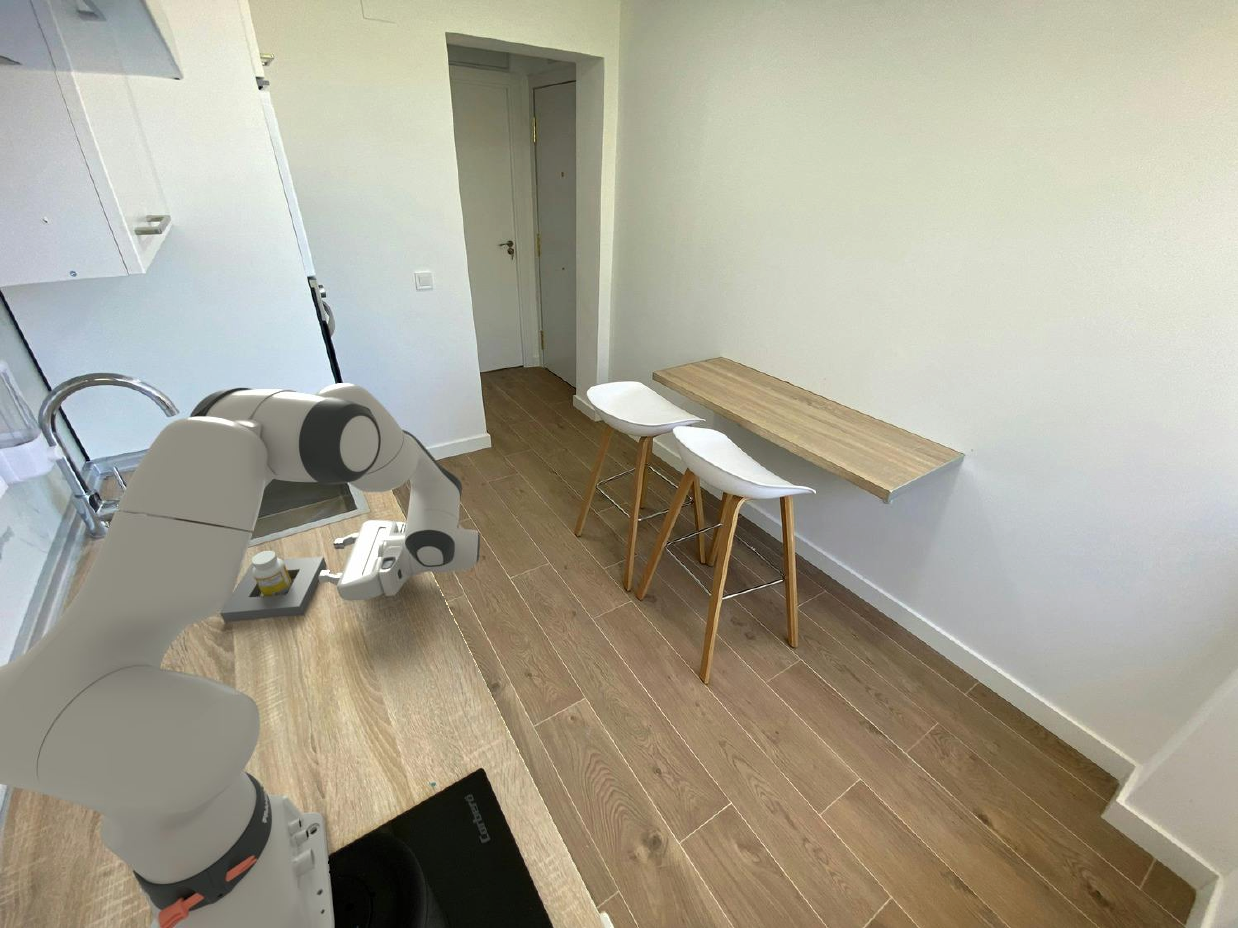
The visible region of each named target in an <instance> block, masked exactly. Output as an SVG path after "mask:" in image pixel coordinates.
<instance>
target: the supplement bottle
mask: <svg viewBox="0 0 1238 928" xmlns="http://www.w3.org/2000/svg"><path fill="white" fill-rule="evenodd" d="M251 564H253V566H254V568H253V576H254V578H255V580H256V582H257V584H258V586H259V588H260V590H261V593H262V596H273V595H285V594H287V593H288V591H289V589H290V587H291V586H292V584H293V581H292V579H290V576H289V574H288V572H287V569H286V567H285V564H284V562H283V561H282V559H281V558H279V557H278V556H277V554H276V552H275V551H274V550H264V551H261V552H258V553H257V554H255V555H254V556H253V557H252V558H251Z"/></svg>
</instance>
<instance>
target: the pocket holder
mask: <svg viewBox="0 0 1238 928" xmlns="http://www.w3.org/2000/svg"><path fill="white" fill-rule="evenodd" d="M281 560H282V561H283V562H284V564H285V567H286V569H287V572H288V574H289V576H290V579H291V580H292V579H294V580H293V581H292V583H293V584H292V586H291V587H290V589H289V591H288V593H287V594H285V595H273V596H263V595H262V596H260V595H261V593H262V592H261V590H260V588H259V586H258V584H257V582H256V580H255V578H254V576H253V568H254V566H253V564H252V563H251V564H250V565H249V567H248V569H247V570H246V572H245V573H244V574H243V576H242V578H241V580H240V581H239V582H238V583H237V586H236V587H235V588H234V590H233V593H232V596H231V598H230V600H229V601H228V603H227V604H226V605H225V606H224V607H223V608H222V609H221V610H220V611H219V614H220V616H221V618H222V620H223V622H224V623H229V622H239V621H241V622H242V621H250V620H251V621H252V620H261V619H262V620H263V619H271V618H272V619H274V618H284V617H286V618H287V617H295V616H296V617H298V616H303V615H304V614H305V612H306V610H307V608H308V606H309V604H310V601H311V599H312V597H313V595H314V594H315V593H314V592H315V591H316V589H317V587H318V584H319V582H320V581H319V579H318V576H319V574H320V572H321V571H325V569H326V567H327V562H326V559H325V557H324V556H312V557H311V556H310V557H298V558H285V559H281Z"/></svg>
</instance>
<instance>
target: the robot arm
mask: <svg viewBox="0 0 1238 928" xmlns="http://www.w3.org/2000/svg"><path fill="white" fill-rule="evenodd" d="M273 480H278V481H286V482H297V483H298V482H300V483H320V484H324V485H339V484H349V485H351V486H352V487H354V488H355V489H358V490H359V491H362V492H365V493H371V494H376V493H378V494H379V493H386V492H390V491H393V490H395V489H397V488H399V487H401V486H402V485H404V484H405V483H407V482H408V481H409V482H410V489H409V493H410V496H409V503H408V509H407V517H406V518H407V519H406V523H405V522H403V521H394V520H392V519H391V520H389V519H388V520H387V519H368V520H367V521H364V522H362V524H361V527H360V529H359V532H355V533H351V534H349V535H345V537H338V538H335V539H334V541H333V546H334V549H335V550H344V549H345V548H346V547H348V546H351V545H353V546H352V548H351V551H350V552H349V555H348V558H347V560H346V562H345V565H344V567H343V570H342V571H341V572H337V573H336V574H332V573H331V570H329V569H327V570H324V571H321V572H320V574H319V576H318V579H319V582H320V583H330V584H333V585H335V586H336V590H337V593H338V595H339V598H341V599H342V600H344V601H346V602H347V601H360V600H369V599H370V600H371V599H375V598H378V597H379V596H381V595H382V594H384V596H387V597H392V596H395V595H397V593H398V592H399V591H400V589H401V588H402V587H403V585H404V584H405V582H406V581H407V580H408V579H409V578H410V576H414V575H420V574H422V573H427V572H428V573H429V572H430V573H435V574H437V573H438V574H439V573H448V572H449V573H450V572H455V571H456V572H457V571H462V570H467V569H471V568H473V567H475V566H477V563H479V559H480V551H481V550H480V549H481V536H480V533H479V531H478V530H475V529H465V528H464V527H462V525H461V524H460V523H459V522H460V521H459V519H460V506H461V498H462V495H463V494H462V493H463V485H462V483H461V481H460V480H459V478H457V476H456V475H454V474H453V473H452V472H451V471H449V470H447V469H446V468H444V467H443V466H442V465H440V463H439V462H438V461H437V459H436V458H435V457H434V456H433V455H432V454H431V453H430V451H429V450H428V449H427V448H426V447H425V446H424V444H423V443H422V442H421V441H420V440H419V439H418V438H417V437H416V436H415V435H414V434H412V432H409V431H408V430H405V429H402V428H401V426H400V425H399V424H398V422H397V421H396V419H395V418H394V417H393V416H392V414H391V413H390V411H389V410H387V408H386V407H385V406H384V405H383V404H382V403H381V402H380V401H379V399H377V398H376V397H375V396H374V395H373V394H372V393H370V391H369V390H367V389H366V388H364V387H362V386H360V385H358V384H355V383H350V382H349V383H348V382H341V383H339V382H338V383H334V384H331V385H327V386H326V387H324V388H321V389H320V390H318V391H317V392H316V393H314V394H312V393H303V392H298V391H296V390H291V389H280V388H279V389H277V388H276V389H274V388H273V389H271V388H270V389H269V388H261V389H259V388H257V389H253V388H251V387H234V388H227V389H222V390H218V391H215V392H213V393H211V394H208V395H207V396H206V397H204V398H202V399H201V401H199V403H198V404H197V405H196V406H195V407H194V409H193V410H192V411H191V413H190V415H189V416H188V417H183V418H180V419H177V420H174V421H172V422H171V423H169V424H168V425H166V426H165V427H164V428H163V429H162V430H161V431H160V433H159V434H158V435H157V436H156V438H155V439H154V441H153V442H152V443H151V444H150V447H148V449H147V451H146V452H145V454H144V455H143V457H142V458H141V460H140V462H139V464H138V465H137V466H136V468H135V470H134V472H133V474H132V475H131V477H130V479H129V481H128V483H127V485H126V487H125V489H124V491H123V493H122V495H121V497H120V499H119V503H118V504H117V505H116V506H117V507H116V511H114V514H113V516H112V518H111V521H110V524H109V525H108V529H107V530H106V533H105V536H104V537H103V540H102V542H101V543H100V544H101V545H100V547H99V548H98V551H97V553H96V556H95V558H94V560H93V563H92V564H91V567H90V569H89V571H88V573H87V575H86V576H85V579H84V581H83V583H82V585H81V587H80V589H79V590H78V592H77V593H76V595H75V597H74V598H73V600H72V601H71V603H70V604H69V606H68V607H67V608H66V609H65V611H64V612H63V614H62V615H61V616H60V617H59V618H58V619H57V621H56V622H55V623H54V625H53V626H51V627H50V628H49V630H48V631H47V632H46V633H45V634H44V635H43V636H42V637H41V638H40V639H39V640H38V641H37V642H36V643H35V644H33V645H32V647H31V648H29V649H28V650H27V651H26V652H25V653H23V654H21V656H18V657H17V658H16V659H13V660H11V661H10V662H7V663H6V664H3V665H2V666H0V785H3V786H7V787H11V788H12V787H13V788H17V789H21V790H25V791H30V792H33V793H38V794H41V795H42V794H43V795H46V796H50V797H52V798H54V799H58V800H63V801H66V802H69V803H72V804H75V805H78V806H81V807H84V808H86V809H87V808H88V809H89V810H93V811H95V812H97V813H99V814H101V815H102V816H103V817H102V819H101V824H100V837H101V840H102V843H103V845H104V846H105V848H106V849H108V850H109V851H110V852H112V853H113V854H114V855H115V856H116V857H117V858H118V859H120V860H121V861H122V863H125V864H126V865H127V866H128V867H130V868H131V869H132V872H133V875H134V877H135V878H136V881H137V883H138V885H139V887H140V889H139V894H140V895H142V896H143V897H144V898H146V900H147V903H148V905H149V907H150V910H151V912H152V914H153V916H154V919H153V920H152V922H151V923H150V925H149V927H148V928H335V913H334V906H333V905H334V904H333V893H332V892H333V891H332V885H331V884H332V882H331V874H330V873H329V871H330V863H329V864H328V861H329V851H328V841H327V832H326V831H327V830H326V820H325V817H324V816H323V815H322V814H321V813H320V812H316V811H314V812H313V811H312V812H302V811H301V810H300V809H299V808H298V806H297V805H296V804H295V803H294V802H293V800H292V799H291V798H290V797H289V796H287V795H283V794H282V795H281V794H274V793H273V794H272V793H267V792H266V790H265V788H264V786H263V784H262V783H261V782H260V781H259V780H258V779H257V778H255V777H254V775H252V774H251V773H249V772H247V771H245V770H244V769H245V767H246V766H247V765H248V763H249V761H250V759H251V758H252V756H253V755H254V752H255V749H256V746H257V743H258V740H259V736H260V729H261V718H260V710H259V708H258V705H257V702H256V701H255V700H254V699H253V698H252V697H250V696H249V695H248V694H245V693H243V692H242V691H239V690H237V689H235V688H233V687H232V686H229V685H227V684H225V683H223V682H220V681H218V680H215V679H214V678H211V677H208V676H203V675H199V674H192V673H188V672H181V671H176V670H171V669H166V668H161V664H162V662H163V658H164V656H165V654H166V653H167V651H168V650H169V648H170V647H171V645H172V644H173V643H174V641H175V640H176V639H177V637H178V636H179V635H180V634H181V633H182V632H183V631H184V630H185V629H186V628H187V627H189V626H190V625H193V624H197V623H199V622H202V621H203V620H204V621H205V620H206V619H208V618H211V617H213V616H215V615H216V614H218V613H220V612H221V610H222V609H223V607H224V606H225V605H226V604H227V603H228V601H229V600H230V598H231V596H232V593H233V592H234V590H235V588H236V587H235V586H236V585H237V584H236V583H237V582H238V581H237V580H238V578H239V575H240V571H241V569H242V567H243V563H244V561H245V557H246V555H247V551H248V548H249V545H250V541H251V539H252V538H253V536H252V535H253V532H254V530H255V526H256V523H257V520H258V518H259V515H260V514H259V513H260V510H261V509H260V508H261V505H262V501H263V497H264V491H265V489H266V487H267V486H268V485H269V484H270V483H271V482H272V481H273ZM314 831H315V832H314ZM313 832H314V833H313Z"/></svg>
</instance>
